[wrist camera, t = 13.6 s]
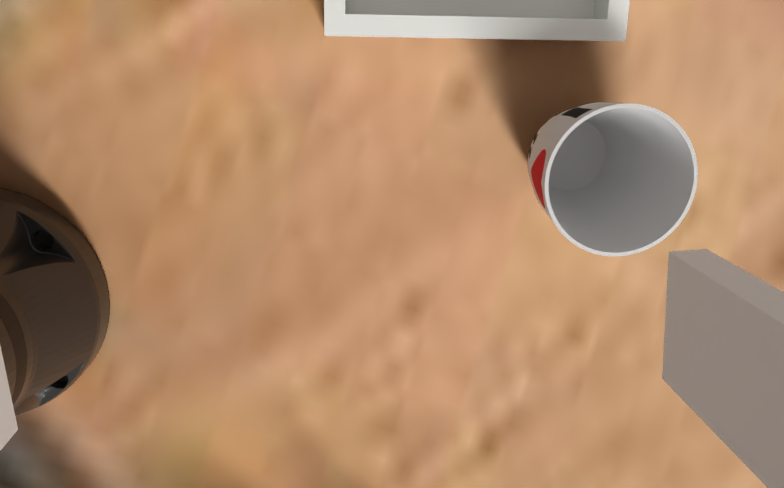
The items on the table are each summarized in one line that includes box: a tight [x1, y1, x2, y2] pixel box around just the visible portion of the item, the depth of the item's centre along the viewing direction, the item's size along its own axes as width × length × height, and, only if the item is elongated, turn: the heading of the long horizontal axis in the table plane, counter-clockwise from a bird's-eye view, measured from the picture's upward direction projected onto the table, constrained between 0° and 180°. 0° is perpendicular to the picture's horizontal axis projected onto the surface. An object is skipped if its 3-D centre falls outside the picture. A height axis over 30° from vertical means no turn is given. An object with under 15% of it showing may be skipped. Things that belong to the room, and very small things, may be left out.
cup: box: [528, 102, 698, 256], centre depth 43 cm, size 8×8×10 cm
